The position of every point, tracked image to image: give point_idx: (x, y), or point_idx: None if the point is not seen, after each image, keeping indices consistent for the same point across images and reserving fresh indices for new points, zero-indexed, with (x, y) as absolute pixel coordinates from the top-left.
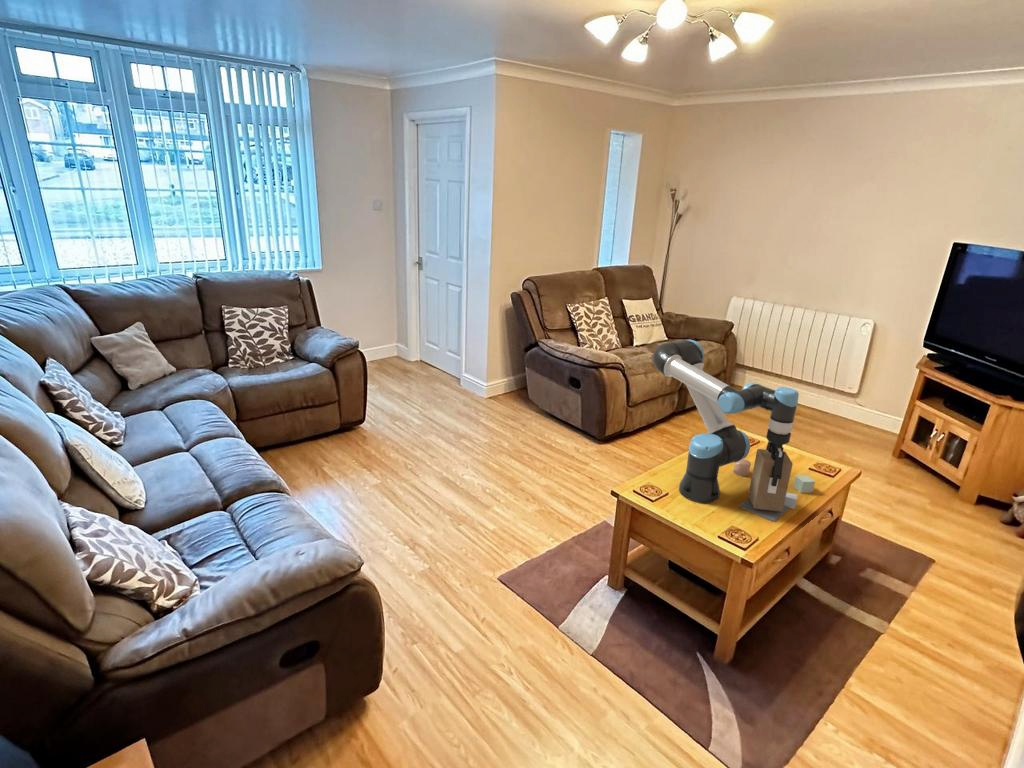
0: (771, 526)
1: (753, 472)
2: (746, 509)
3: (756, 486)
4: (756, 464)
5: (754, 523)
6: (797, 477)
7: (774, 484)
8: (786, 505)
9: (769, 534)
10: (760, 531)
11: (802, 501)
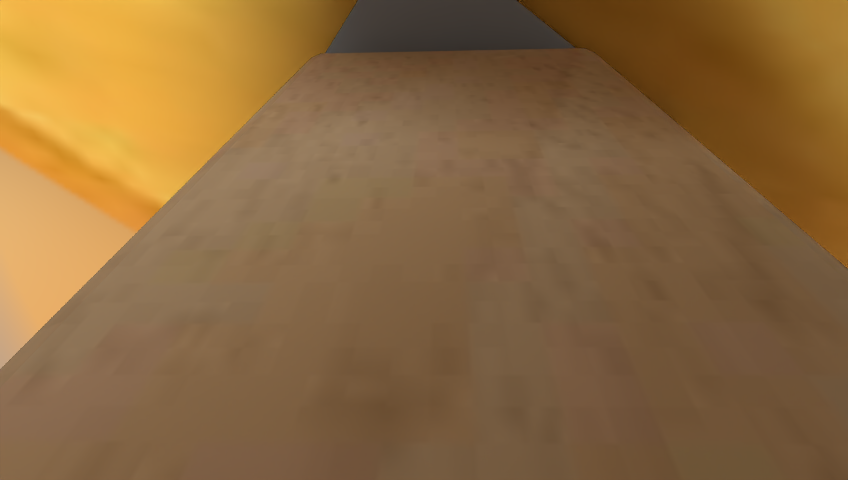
0: (162, 164)
1: (641, 145)
2: None
3: (307, 119)
4: (604, 258)
5: (144, 26)
6: None
7: None
8: None
9: (25, 124)
10: (32, 56)
11: None
